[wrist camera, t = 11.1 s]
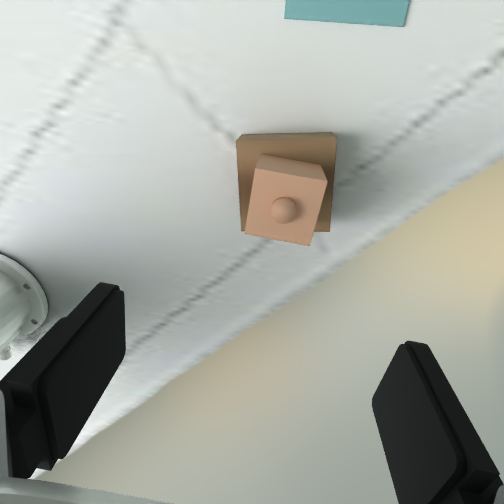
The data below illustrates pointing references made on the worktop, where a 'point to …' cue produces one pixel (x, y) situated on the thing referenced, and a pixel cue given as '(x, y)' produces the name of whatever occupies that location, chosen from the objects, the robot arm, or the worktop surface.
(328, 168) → the walnut block
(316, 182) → the painted brick
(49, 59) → the worktop surface
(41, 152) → the worktop surface
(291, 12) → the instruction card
